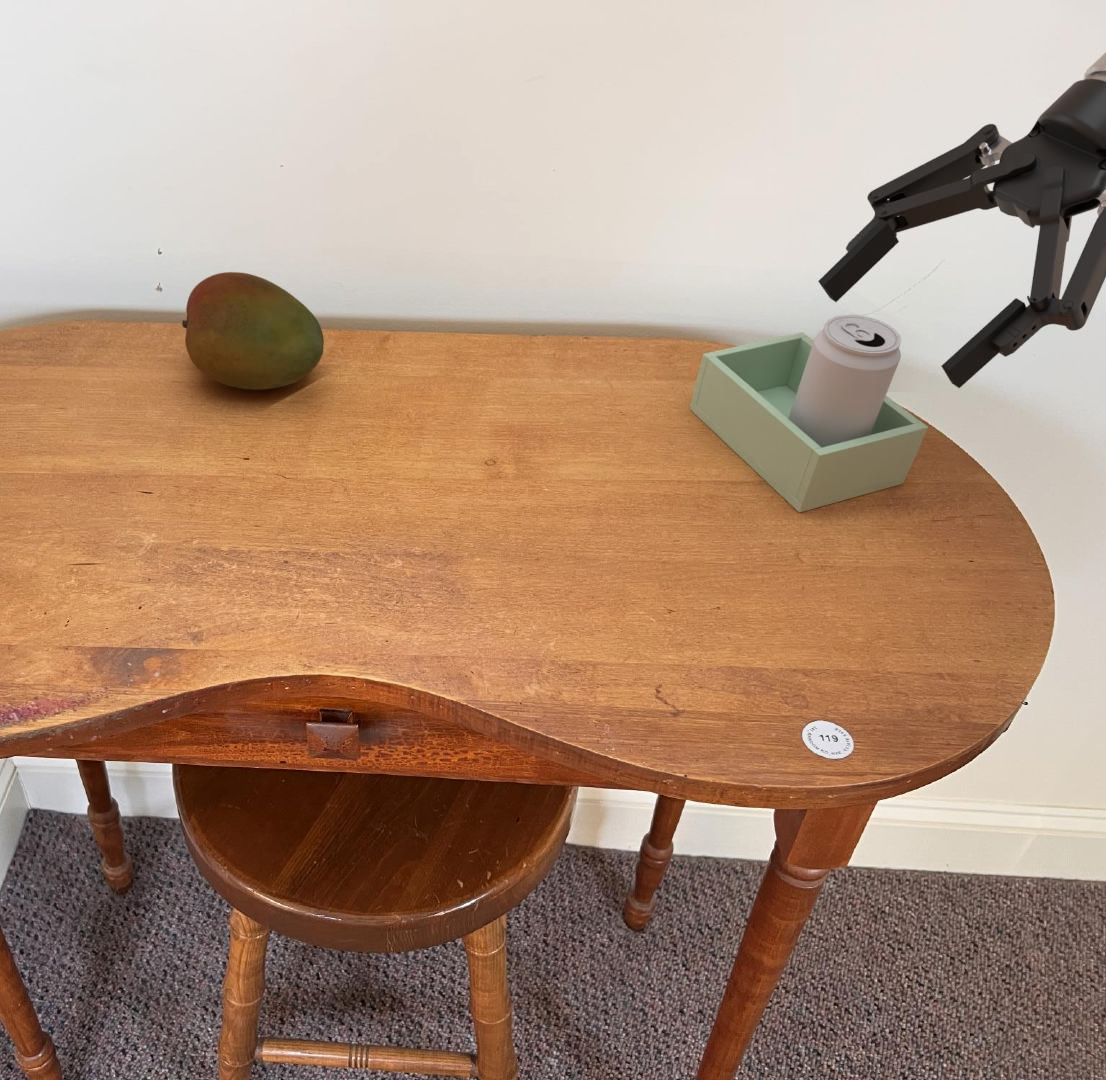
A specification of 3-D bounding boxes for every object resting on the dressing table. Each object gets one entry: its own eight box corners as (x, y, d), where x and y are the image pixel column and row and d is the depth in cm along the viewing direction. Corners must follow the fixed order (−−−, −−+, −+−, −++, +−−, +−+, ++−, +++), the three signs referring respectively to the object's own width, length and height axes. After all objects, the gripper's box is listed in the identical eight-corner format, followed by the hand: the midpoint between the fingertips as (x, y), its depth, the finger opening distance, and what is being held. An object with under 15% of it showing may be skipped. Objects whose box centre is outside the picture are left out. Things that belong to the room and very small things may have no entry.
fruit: (191, 347, 100) (178, 252, 94) (320, 340, 102) (316, 246, 95) (188, 416, 92) (174, 316, 85) (328, 408, 93) (325, 309, 86)
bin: (903, 484, 86) (928, 427, 82) (798, 513, 83) (820, 455, 79) (785, 386, 97) (802, 331, 93) (689, 408, 94) (702, 353, 90)
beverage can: (817, 488, 84) (864, 362, 76) (762, 446, 88) (801, 322, 80) (874, 467, 86) (925, 342, 78) (817, 426, 90) (861, 304, 82)
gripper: (1292, 211, 68) (1023, 442, 74) (999, 89, 85) (800, 284, 91) (1285, 140, 63) (997, 395, 69) (974, 26, 80) (765, 237, 86)
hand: (884, 332), depth 80 cm, fingers open, 13 cm apart
